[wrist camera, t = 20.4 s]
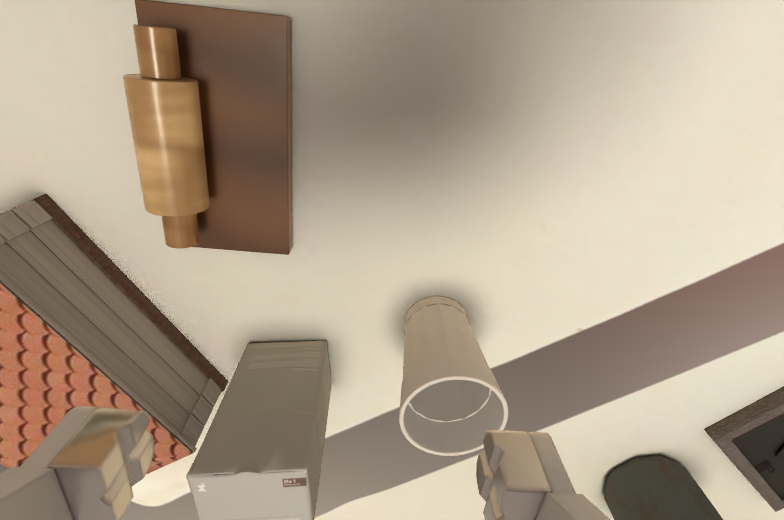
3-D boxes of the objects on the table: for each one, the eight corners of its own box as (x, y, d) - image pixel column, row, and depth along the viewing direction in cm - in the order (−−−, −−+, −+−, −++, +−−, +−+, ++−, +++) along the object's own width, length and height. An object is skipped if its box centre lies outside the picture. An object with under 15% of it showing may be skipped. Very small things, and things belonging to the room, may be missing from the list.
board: (145, 0, 29) (133, -2, 28) (291, 17, 30) (286, 15, 28) (178, 238, 37) (170, 245, 36) (292, 247, 38) (289, 255, 36)
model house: (-76, 275, 38) (-324, 396, 25) (45, 193, 35) (-165, 282, 22) (118, 434, 48) (14, 585, 34) (228, 381, 45) (160, 525, 31)
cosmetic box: (257, 388, 45) (198, 544, 31) (246, 334, 42) (175, 479, 28) (336, 387, 45) (314, 541, 31) (332, 332, 42) (305, 476, 28)
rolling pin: (185, 29, 29) (110, 21, 27) (200, 31, 26) (117, 22, 24) (205, 228, 36) (147, 235, 34) (219, 248, 33) (156, 258, 31)
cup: (489, 301, 41) (527, 391, 30) (457, 363, 44) (481, 464, 33) (411, 279, 39) (421, 364, 29) (384, 344, 43) (385, 443, 32)
